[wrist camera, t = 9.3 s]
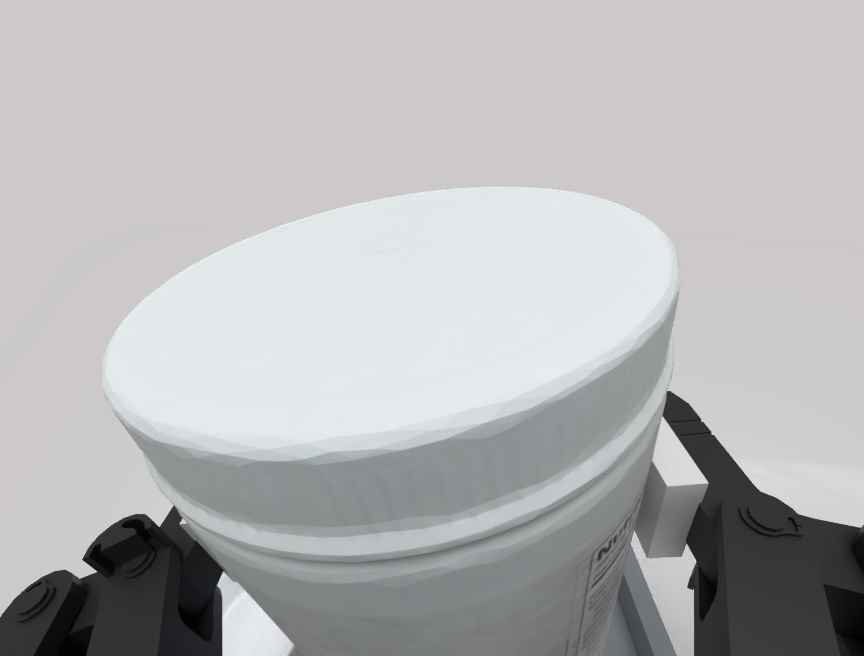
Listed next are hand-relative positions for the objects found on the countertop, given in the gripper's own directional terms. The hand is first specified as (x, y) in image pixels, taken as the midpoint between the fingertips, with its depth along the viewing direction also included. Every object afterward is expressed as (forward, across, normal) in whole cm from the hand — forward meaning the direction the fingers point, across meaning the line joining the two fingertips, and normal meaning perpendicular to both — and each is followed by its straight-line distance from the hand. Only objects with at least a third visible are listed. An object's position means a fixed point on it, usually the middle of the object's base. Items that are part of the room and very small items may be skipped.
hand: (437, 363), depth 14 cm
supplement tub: (-4, 0, -9) cm, 10 cm away
